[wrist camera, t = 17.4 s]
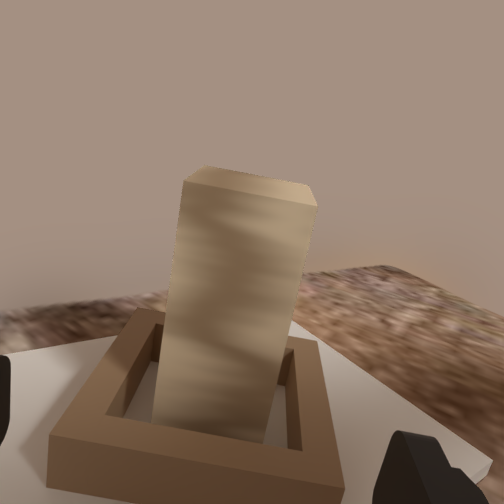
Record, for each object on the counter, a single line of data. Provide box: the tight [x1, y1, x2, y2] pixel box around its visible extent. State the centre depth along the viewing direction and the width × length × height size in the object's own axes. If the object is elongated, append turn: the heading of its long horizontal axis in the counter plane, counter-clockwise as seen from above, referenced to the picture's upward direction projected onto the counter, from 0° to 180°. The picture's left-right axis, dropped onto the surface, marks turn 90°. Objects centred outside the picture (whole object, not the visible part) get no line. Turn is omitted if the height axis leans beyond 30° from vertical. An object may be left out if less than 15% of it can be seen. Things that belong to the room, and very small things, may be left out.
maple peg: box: [151, 165, 318, 444], centre depth 20 cm, size 5×5×12 cm
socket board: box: [0, 307, 493, 504], centre depth 22 cm, size 24×18×4 cm
